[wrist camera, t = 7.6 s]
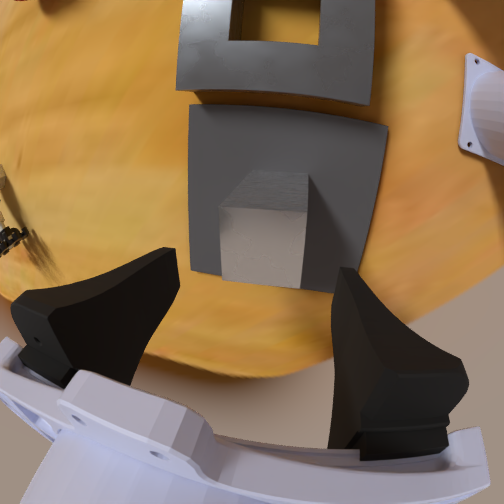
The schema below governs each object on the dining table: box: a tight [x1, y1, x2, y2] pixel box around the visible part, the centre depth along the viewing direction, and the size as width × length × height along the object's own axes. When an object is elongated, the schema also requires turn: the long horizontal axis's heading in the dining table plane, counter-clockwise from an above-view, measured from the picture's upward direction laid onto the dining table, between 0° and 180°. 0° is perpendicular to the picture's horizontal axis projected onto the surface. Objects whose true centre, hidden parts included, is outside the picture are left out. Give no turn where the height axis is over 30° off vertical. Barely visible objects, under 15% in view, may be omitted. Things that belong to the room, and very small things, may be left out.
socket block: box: [176, 0, 375, 106], centre depth 13 cm, size 12×12×3 cm
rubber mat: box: [188, 104, 388, 293], centre depth 21 cm, size 14×14×1 cm
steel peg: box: [219, 170, 308, 289], centre depth 17 cm, size 4×4×8 cm
